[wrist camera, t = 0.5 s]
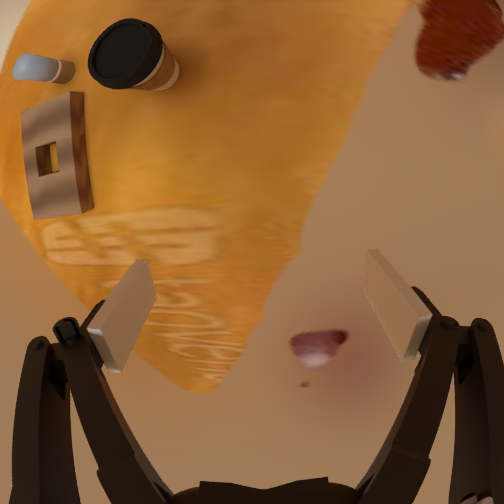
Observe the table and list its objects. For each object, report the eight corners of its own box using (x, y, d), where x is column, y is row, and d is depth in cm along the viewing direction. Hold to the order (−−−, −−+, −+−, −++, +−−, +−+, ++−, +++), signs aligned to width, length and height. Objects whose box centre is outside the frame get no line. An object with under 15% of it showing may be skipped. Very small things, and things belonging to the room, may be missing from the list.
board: (35, 111, 33) (21, 112, 30) (83, 92, 33) (70, 91, 29) (46, 213, 41) (34, 220, 38) (93, 206, 41) (81, 213, 38)
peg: (58, 66, 30) (13, 59, 19) (75, 59, 30) (31, 48, 19) (57, 86, 32) (11, 83, 21) (74, 80, 32) (29, 73, 21)
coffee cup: (199, 75, 33) (170, 46, 20) (153, 110, 35) (105, 103, 22) (168, 38, 30) (130, 2, 17) (125, 73, 32) (71, 55, 19)
